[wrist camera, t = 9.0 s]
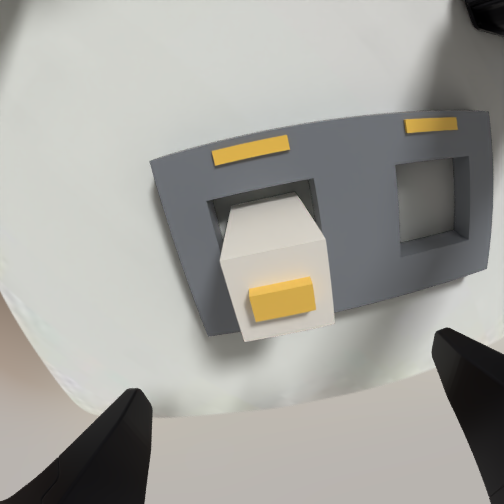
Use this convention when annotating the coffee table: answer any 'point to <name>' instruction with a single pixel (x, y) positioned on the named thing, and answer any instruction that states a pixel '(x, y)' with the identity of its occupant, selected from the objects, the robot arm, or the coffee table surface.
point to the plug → (276, 268)
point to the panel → (337, 202)
